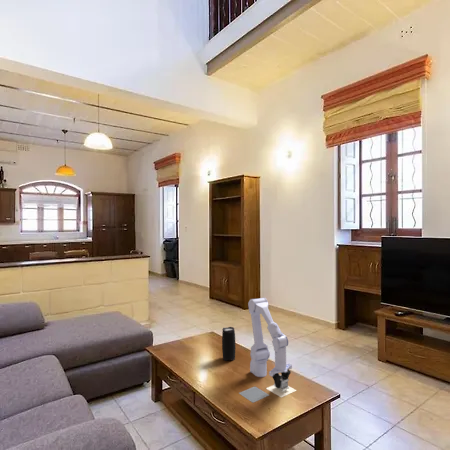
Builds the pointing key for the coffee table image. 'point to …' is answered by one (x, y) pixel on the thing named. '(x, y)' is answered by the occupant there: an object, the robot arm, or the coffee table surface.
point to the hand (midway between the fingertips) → (281, 386)
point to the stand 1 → (254, 394)
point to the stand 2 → (279, 392)
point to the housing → (283, 383)
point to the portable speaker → (228, 343)
